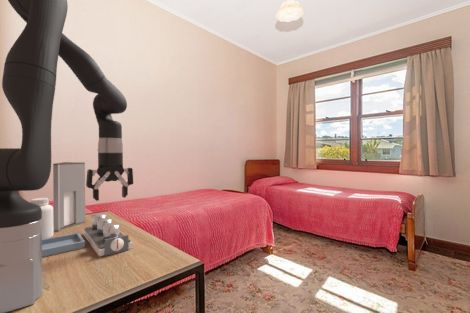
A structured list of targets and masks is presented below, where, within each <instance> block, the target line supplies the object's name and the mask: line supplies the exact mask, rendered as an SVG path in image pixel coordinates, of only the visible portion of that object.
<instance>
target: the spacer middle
mask: <svg viewBox="0 0 470 313" xmlns="http://www.w3.org/2000/svg"><path fill="white" fill-rule="evenodd" d="M110 223H113V218H111V217H106V218H102V219H99V220H97V235H103V226H104V225H106V224H110Z"/></svg>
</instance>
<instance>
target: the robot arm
mask: <svg viewBox="0 0 470 313" xmlns="http://www.w3.org/2000/svg"><path fill="white" fill-rule="evenodd" d="M7 1H8V3H9V4H10V6H11V7H12V9H13V10H14V11H15V12H16V14H17V15H18V16H19V17H20V18H22V20H23V21H24V22H25V23H26V25H25V26H24V29H23V30H22V31H21V33H20V34H19V36H18V37H17V39H16V40H15V42H14V43H13V44H12V46H11V48H9V51H8V52H7V55H6V58H5V61H4V65H3V73H2V83H1V88H2V92H3V94H4V96H5V98H6V100H7V102H8V103H9V105H10V106H11V107H12V109H13V111H14V112H15V114H16V116H17V118H18V119H19V122H20V125H21V134H22V136H21V146H20V148H13V147H12V148H11V147H10V148H7V147H5V148H3V147H2V148H0V313H9V312H13V311H15V310H19V309H22V308H25V307H28V306H31V305H34V304H35V301H37V300H38V299H39V298H40V297H41V296H42V294H43V257H42V210H41V207H40V206H38V205H36V204H33V203H31V202H30V201H28V200H27V199H24V198H23V197H22V196H21V195H20V191H22V192H23V191H24V192H25V191H27V192H30V191H31V192H33V191H39V190H40V189H42V188H44V187H45V185H47V183H48V181H49V179H50V176H51V172H52V171H51V170H52V120H53V108H54V99H55V93H56V86H57V72H58V71H57V69H58V60H59V57H60V58H61V60H62V61H63V62H64V63H65V64H66V65H67V66H68V67H69V69H70V70H71V71H72V73H73V74H74V76H75V77H76V78H77V79H78V81H79V83H81V85H82V86H83V87H84V88H85V89H86V91H88V92H89V93H93V94H96V95H95V97H94V98H93V101H92V106H93V107H92V109H93V112H94V115H95V119H96V122H97V125H98V142H97V169H91V168H89V169H87V171H86V179H85V187H87V188H88V189H92V198H93V199H94V200H95V201H96V202H97V201H100V191H99V190H100V189H99V188H100V186H102V184H103V183H104V182H106V183H107V182H119V183H120V184H121V185H122V187H121V198H126V197H128V193H129V192H128V188H129V186H132V185H133V184H134V171H133V168H132V167H124V162H123V161H124V160H123V159H124V156H123V155H124V152H123V150H124V148H123V133H122V131H123V130H122V123H121V122H119V121H117V120H114V119H113V117H112V115H116V114H122V113H124V112H126V110H127V107H128V103H127V100H126V96H125V95H124V94H123V92H122V91H121V90H120V89H119V88H117V87H116V85H115V84H113V83H112V82H111V81H110V80H109V79H108V78H107V77H106V75H105V74H104V72H103V70H102V69H101V68H100V66H99V65H98V63H97V62H96V61H95V59H94V58H93V57H92V56H91V55H90V54H89V53H88V52H86V51H85V50H84V49H83V48H81V47H80V46H79V45H77V44H76V43H75V42H73V41H72V40H71V39H70V38H69V37H67V36H66V35H65V34H64V33H63V31H64V27H65V23H66V19H67V15H68V14H67V13H68V0H7ZM124 173H125V174H126V176H127V181H126V180H125V179H124V177H123V176H122V175H123V174H124ZM95 174H97V175H98V176H99V177H98V178H97V179H96V181H95V183H94V184H93V177H94V176H95Z"/></svg>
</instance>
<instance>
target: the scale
mask: <svg viewBox="0 0 470 313" xmlns="http://www.w3.org/2000/svg"><path fill="white" fill-rule="evenodd" d="M82 235H83V237H85V239H86V240H87V241H88V243H89V244H90V246H91V247H92V249H93V250H94V252H95V253H96V254H97V256H98V257H104V256H105V257H107V256H110V255H111V256H112V255H115V254H118V253H123V252H127V251H129V250H131V249H133V241H132V240H130V239H129V234H123V233H122V232H120V231H119V237H114V238H109V239H105V240H104V242H103V235H97V229H92V226H86V227H84V228H82Z"/></svg>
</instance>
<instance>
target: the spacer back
mask: <svg viewBox="0 0 470 313" xmlns="http://www.w3.org/2000/svg"><path fill="white" fill-rule="evenodd" d="M102 218H107V213H104V212H103V213H95V214H93V215H91V227H92V229H97V220H99V219H102Z"/></svg>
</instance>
